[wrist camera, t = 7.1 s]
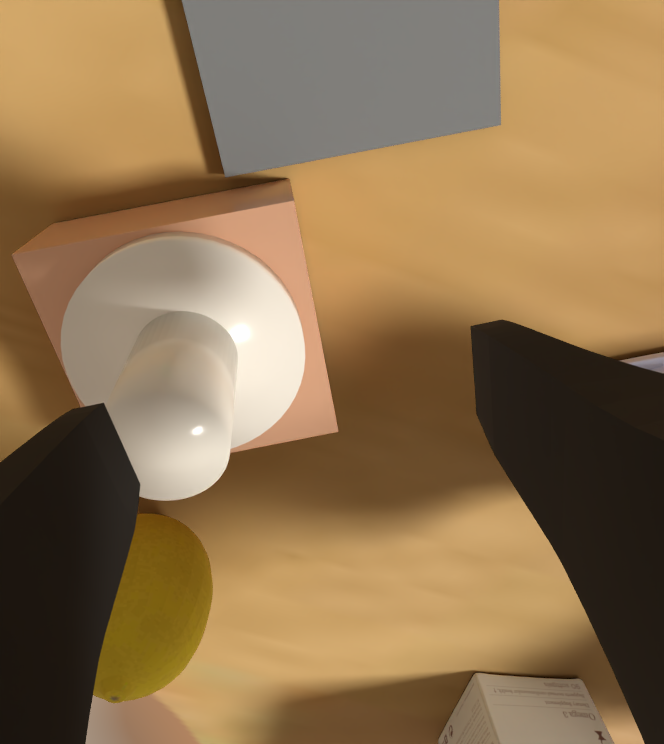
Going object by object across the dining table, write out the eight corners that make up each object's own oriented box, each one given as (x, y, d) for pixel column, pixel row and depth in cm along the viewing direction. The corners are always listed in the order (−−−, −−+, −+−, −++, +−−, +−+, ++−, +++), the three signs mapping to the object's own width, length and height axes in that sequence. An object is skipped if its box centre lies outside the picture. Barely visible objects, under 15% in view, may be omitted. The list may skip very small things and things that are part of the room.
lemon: (64, 523, 25) (-15, 704, 18) (152, 453, 24) (103, 617, 17) (160, 585, 27) (123, 765, 20) (245, 523, 26) (236, 694, 19)
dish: (289, 178, 19) (294, 200, 16) (328, 382, 23) (338, 431, 20) (52, 223, 19) (11, 254, 16) (132, 420, 23) (112, 476, 20)
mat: (487, -205, 15) (495, -214, 14) (494, 123, 19) (500, 125, 18) (149, -142, 15) (145, -150, 14) (226, 174, 19) (225, 177, 18)
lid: (289, 218, 16) (299, 284, 11) (313, 422, 19) (329, 540, 15) (38, 245, 16) (-62, 325, 11) (107, 449, 19) (54, 578, 14)
